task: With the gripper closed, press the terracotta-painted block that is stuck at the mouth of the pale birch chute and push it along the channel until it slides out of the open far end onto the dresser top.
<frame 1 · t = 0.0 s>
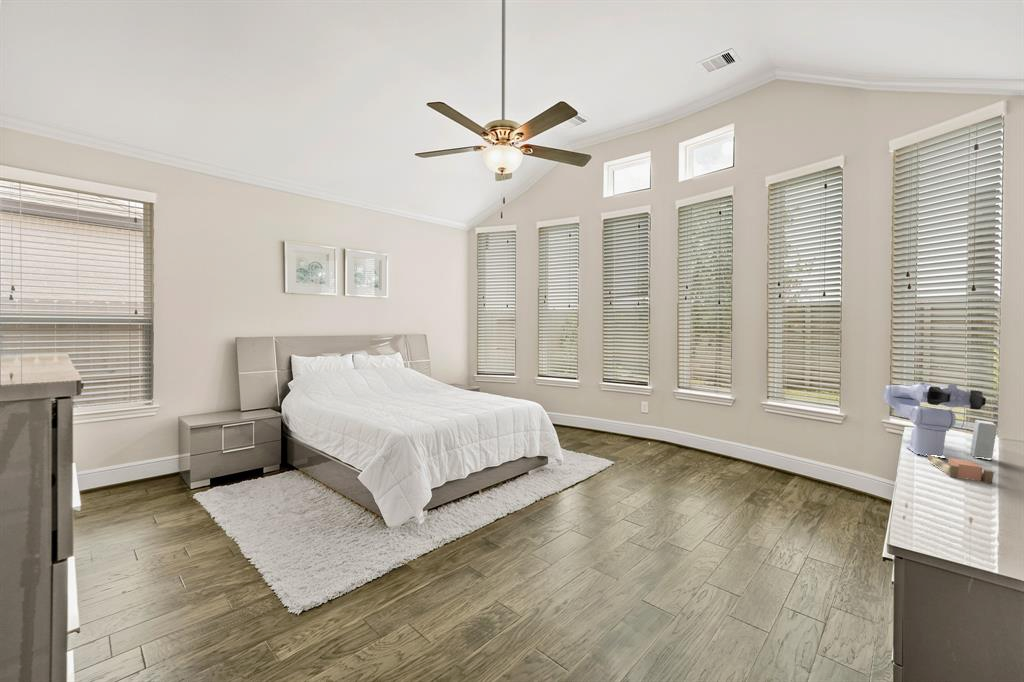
hand: (966, 399, 128), 22 cm above the dresser top, tool horizontal, fingers open, 7 cm apart
block: (963, 476, 128), on the dresser top
chute: (957, 471, 131), on the dresser top
skincare box: (980, 458, 147), on the dresser top
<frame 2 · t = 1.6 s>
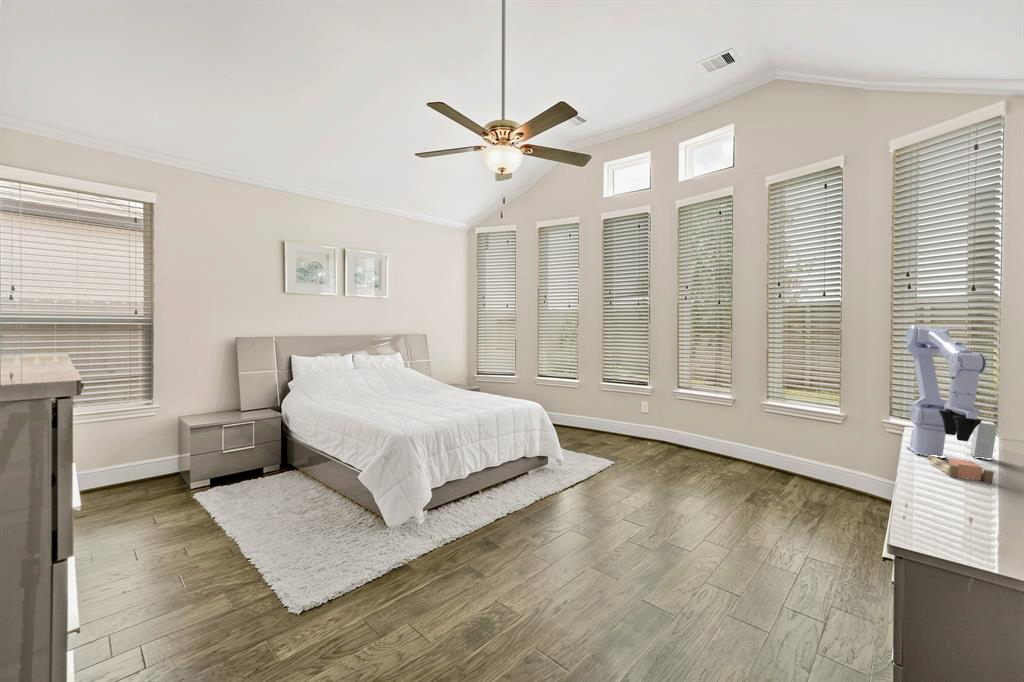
hand: (956, 437, 133), 9 cm above the dresser top, tool pointing down, fingers open, 7 cm apart
nothing on the dresser top moved.
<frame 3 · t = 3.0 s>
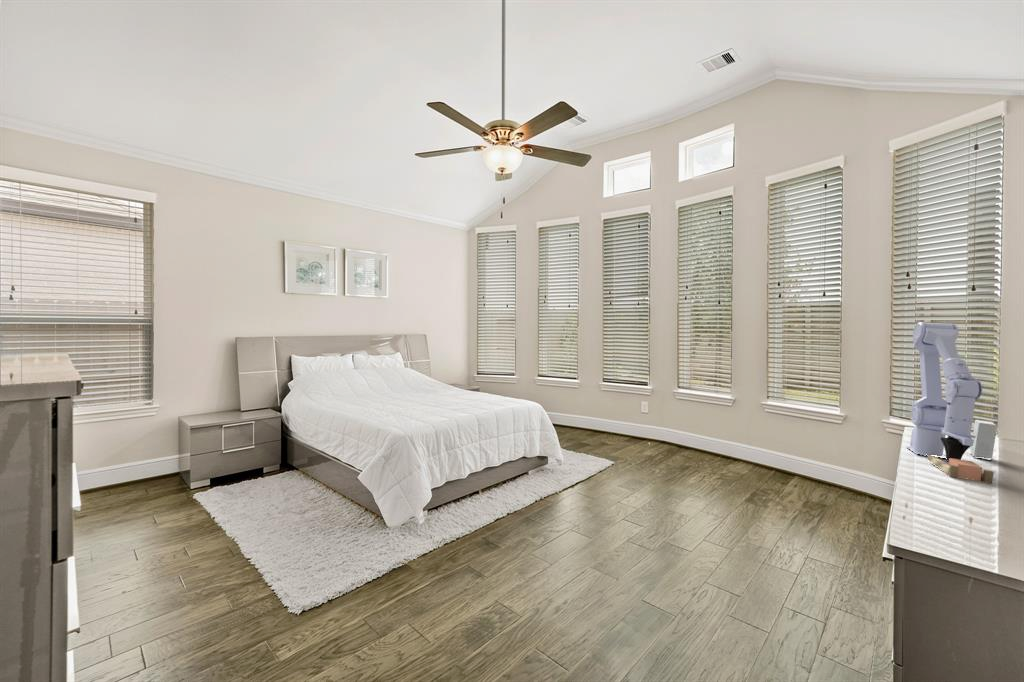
hand: (952, 463, 134), 2 cm above the dresser top, tool pointing down, fingers closed
nothing on the dresser top moved.
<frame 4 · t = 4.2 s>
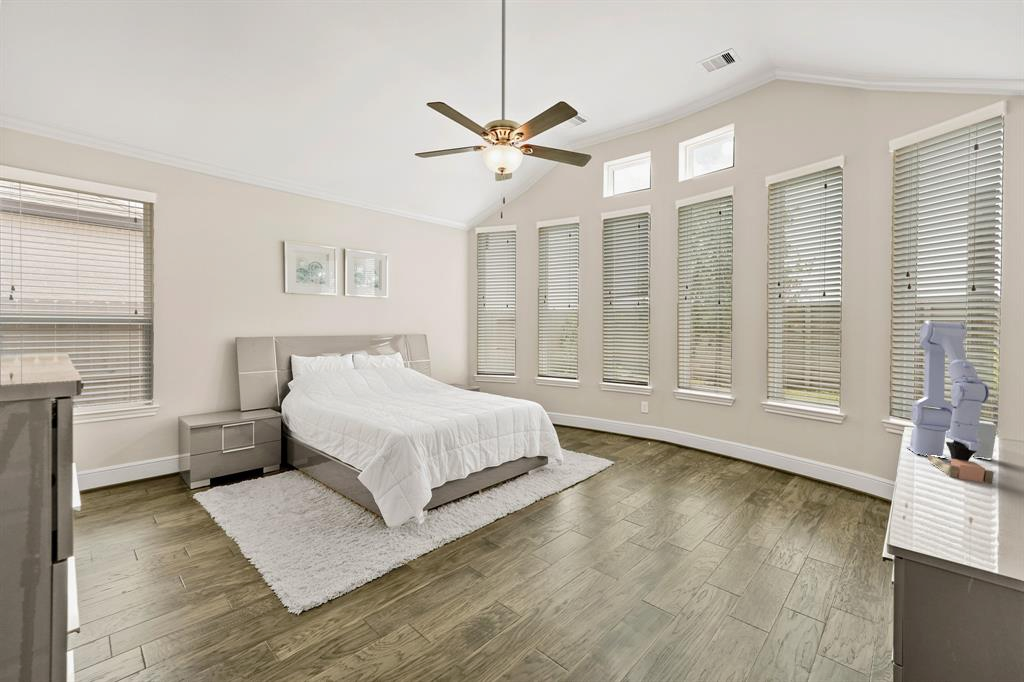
hand: (958, 468, 131), 1 cm above the dresser top, tool pointing down, fingers closed
block: (965, 476, 127), on the dresser top, touching gripper
everything else where it was.
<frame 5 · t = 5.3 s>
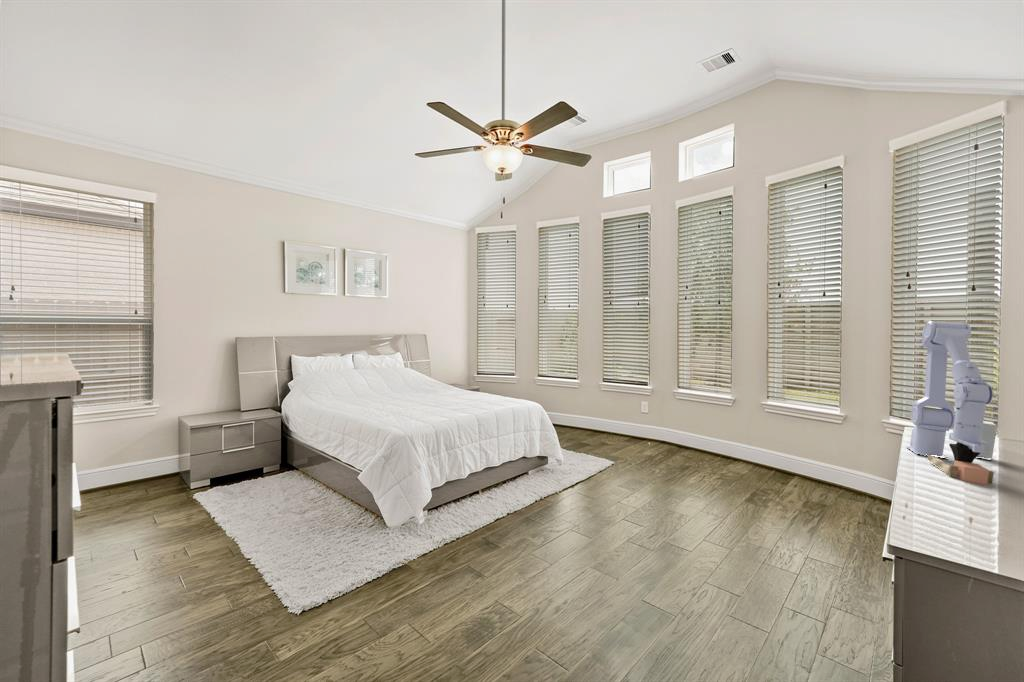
hand: (961, 470, 129), 1 cm above the dresser top, tool pointing down, fingers closed
block: (969, 479, 125), on the dresser top, touching gripper
everything else where it was.
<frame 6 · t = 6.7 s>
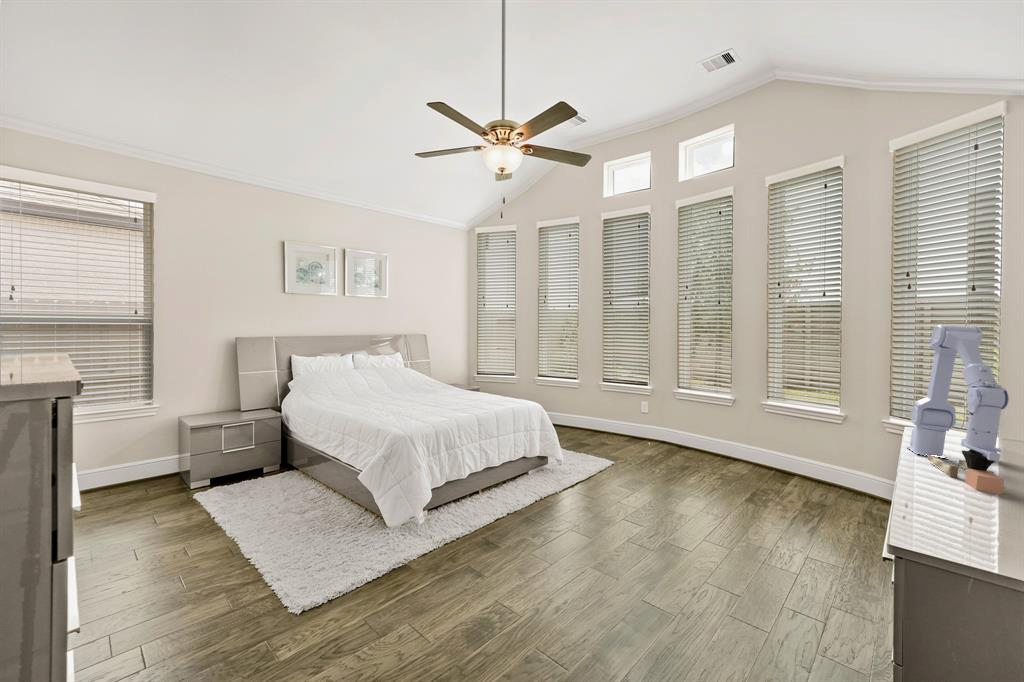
hand: (975, 478, 122), 1 cm above the dresser top, tool pointing down, fingers closed
block: (982, 488, 118), on the dresser top, touching gripper
everything else where it was.
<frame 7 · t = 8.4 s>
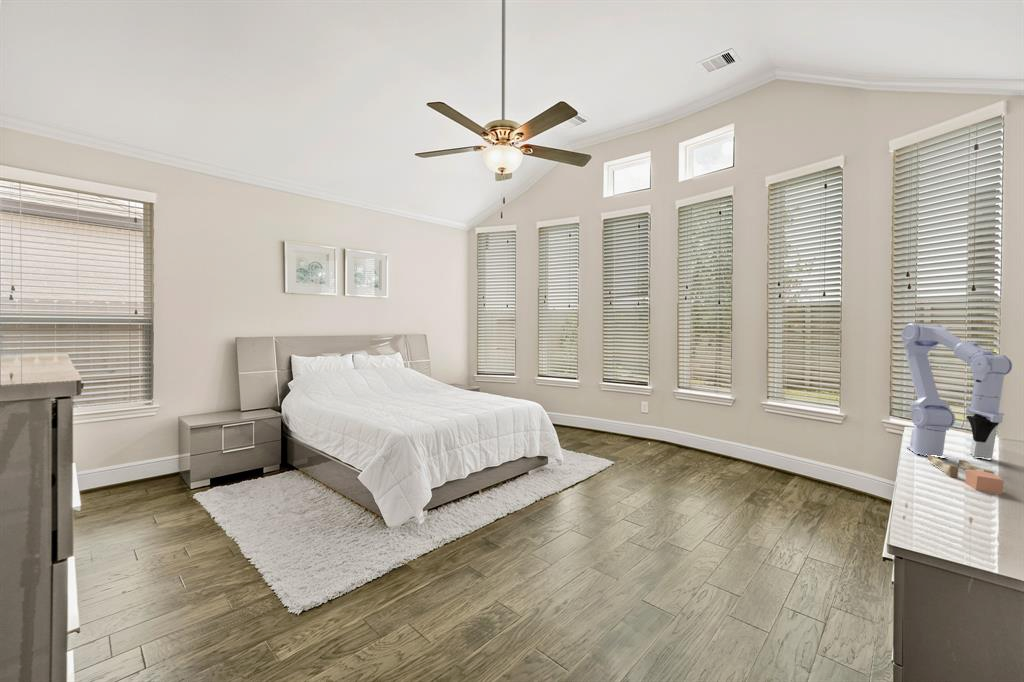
hand: (979, 441, 130), 9 cm above the dresser top, tool pointing down, fingers closed
block: (982, 489, 118), on the dresser top
everything else where it was.
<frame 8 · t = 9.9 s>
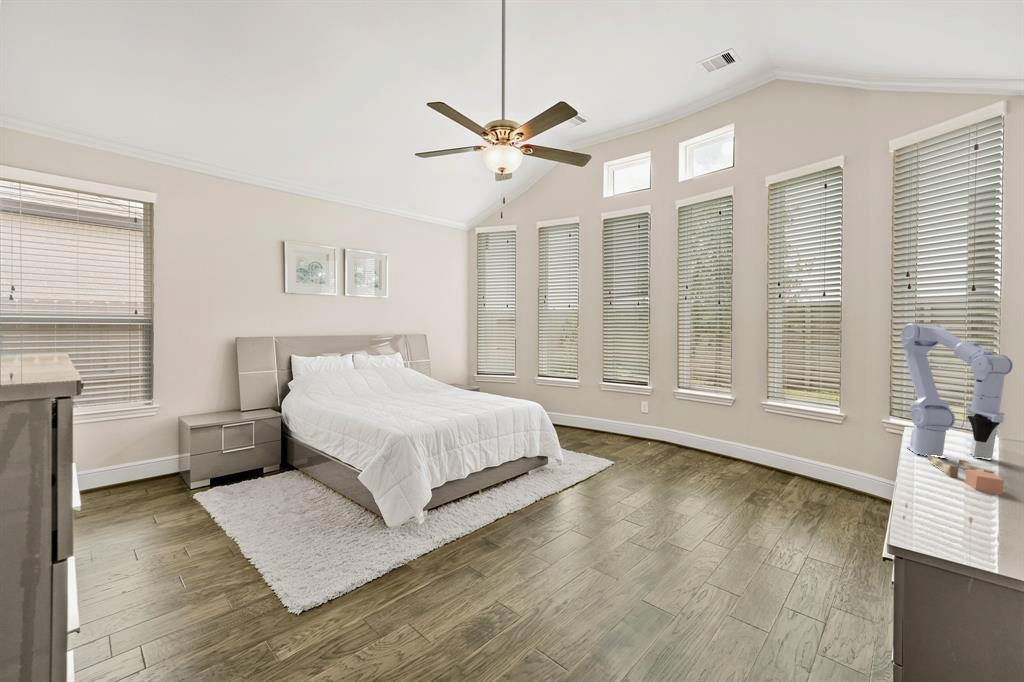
hand: (980, 441, 130), 9 cm above the dresser top, tool pointing down, fingers closed
nothing on the dresser top moved.
at the end: block inside the target area (1.3 cm from its centre), on the dresser top; block tilted 0°; block touching dresser top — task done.
